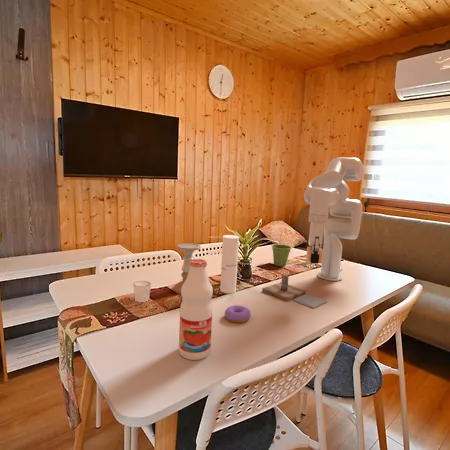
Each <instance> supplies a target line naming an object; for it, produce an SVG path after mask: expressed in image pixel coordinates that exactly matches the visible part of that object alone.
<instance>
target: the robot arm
mask: <svg viewBox="0 0 450 450" xmlns="http://www.w3.org/2000/svg"><path fill="white" fill-rule="evenodd" d="M364 176H365V167H364V164H363V162H362V160H360V159H359V158H358V157H341V156H340V157H335V158H332V159H331V160H330V162H329V164H328V165H327V167H326V170H325V171H324V173H322V174H320V175H317V176H315V177H314V178H312V179H311V180H309V182H308V183H307V186H306V188H305V190H304V192H303V199H304V202H306V203H307V204H309V213H308V222H309V223H310V225H309V232H308V233H309V234H308V240H307V241H308V247H312V253H311V260H310V262H309V263H311V264H317V265H319V264H320V263H319V248H322V247H323V248H322V250H323V257H322V263H321V264H320V265H321V267H320V271H319V272H317V275H316V276H317V277H318V278H320V279H322V280H325V281H332V282H339V281H341V280H342V281H343V276H342V275H341V274H340V272H341V273H342V272H343V268H341V265H342V263H341V262H342V254H343V244H342V241H341V239H346V240H356V239H358V237H359V235H360V230H361V223H362V215H363V204H362V201H360V200H359V199H350V198H349V197H350V196H349V195H350V188H349V186H348V184H347V183H346V182H345V181H348V182H360V181H361V180H362V179H363V178H364ZM329 215H331V216H333V217H339V218H329ZM340 218H346V219H340ZM347 218H349V219H350V220H347ZM322 244H323V246H322Z"/></svg>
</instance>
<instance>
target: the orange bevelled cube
mask: <svg viewBox="0 0 450 450" xmlns="http://www.w3.org/2000/svg"><path fill="white" fill-rule="evenodd" d="M311 253H312V247H310V246H306V255H305V256H306V257H305V258H306V259H305V260H306V262H307V263H310V260H311ZM322 257H323V248H322V247H320V248H319V263H318V264H322Z"/></svg>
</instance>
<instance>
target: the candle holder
mask: <svg viewBox="0 0 450 450" xmlns="http://www.w3.org/2000/svg"><path fill="white" fill-rule="evenodd" d="M176 249H178V250H180V251H182V252H183V254H184V256H183V257H182V260H183V264H182V266H181V271H182V273H181V275H180V276H181V277H182V279H181V281H179V282H177V283H175V284H174V285H173V290H174V292H176V293H177V294H178V293H179V294H181V288H182V285H183V284H184V282H185V281H186V279H187V276H188V273H189V271H190V266H189V262H190V260H192V259H195V258H194V256H193V254H194V252H195V251H199V250H200V249H201V245H200V244H197V243H191V242H184V243H178V244H177V245H176Z"/></svg>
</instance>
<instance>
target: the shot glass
mask: <svg viewBox="0 0 450 450" xmlns="http://www.w3.org/2000/svg"><path fill="white" fill-rule="evenodd" d="M132 285H133V286H132V287H133V293H134V302H136V301H138V302H144V303H146V302H145V301H147V302H149V301H150V295H151V294H150V293H151V285H152V283H151V282H150V281H146V280H139V281H136V282H134V283H133V284H132ZM148 300H149V301H148ZM138 302H137V303H138Z"/></svg>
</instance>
